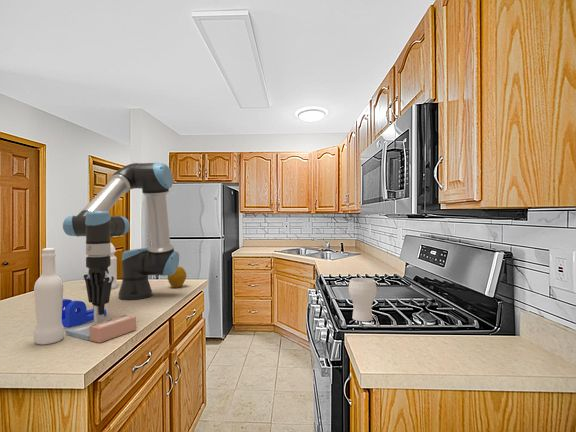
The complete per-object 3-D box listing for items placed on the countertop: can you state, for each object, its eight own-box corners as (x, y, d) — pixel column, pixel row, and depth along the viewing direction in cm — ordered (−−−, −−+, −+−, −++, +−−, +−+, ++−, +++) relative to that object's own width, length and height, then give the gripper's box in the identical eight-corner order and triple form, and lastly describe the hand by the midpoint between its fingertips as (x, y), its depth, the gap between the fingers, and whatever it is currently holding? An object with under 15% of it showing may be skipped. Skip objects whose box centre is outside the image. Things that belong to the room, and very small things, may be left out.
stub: (126, 327, 129) (126, 314, 129) (136, 329, 127) (135, 316, 127) (89, 340, 116) (89, 326, 116) (99, 342, 114) (99, 328, 114)
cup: (345, 315, 145) (345, 277, 145) (371, 314, 146) (371, 277, 146) (352, 323, 134) (352, 283, 134) (380, 322, 135) (380, 282, 135)
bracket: (69, 328, 129) (69, 303, 129) (53, 325, 132) (53, 301, 132) (110, 314, 146) (110, 292, 146) (96, 312, 149) (95, 291, 149)
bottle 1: (41, 347, 111) (40, 250, 111) (29, 342, 115) (28, 248, 115) (69, 339, 118) (68, 247, 117) (56, 334, 122) (55, 246, 122)
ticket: (103, 323, 135) (103, 318, 135) (125, 328, 129) (125, 323, 129) (65, 334, 122) (65, 330, 122) (88, 340, 117) (88, 335, 117)
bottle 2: (121, 288, 196) (121, 236, 195) (94, 292, 185) (93, 238, 185) (110, 284, 205) (110, 235, 204) (84, 288, 194) (83, 236, 194)
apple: (188, 285, 203) (187, 264, 202) (183, 289, 193) (183, 267, 193) (170, 285, 202) (170, 264, 202) (165, 289, 193) (165, 267, 192)
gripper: (75, 255, 124) (76, 323, 124) (100, 258, 118) (101, 329, 119) (96, 253, 131) (96, 318, 131) (120, 255, 125) (121, 323, 125)
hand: (98, 323), depth 125 cm, fingers closed
